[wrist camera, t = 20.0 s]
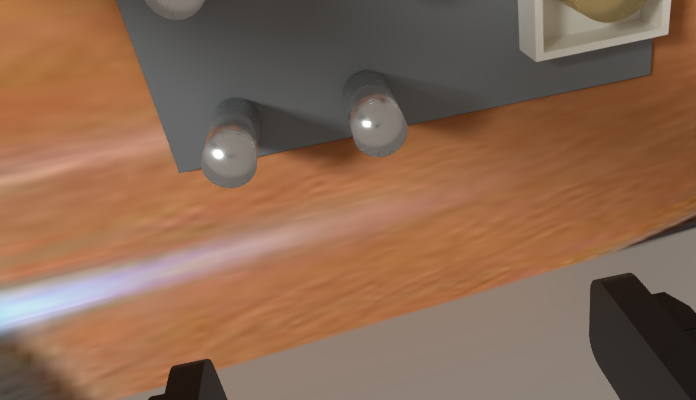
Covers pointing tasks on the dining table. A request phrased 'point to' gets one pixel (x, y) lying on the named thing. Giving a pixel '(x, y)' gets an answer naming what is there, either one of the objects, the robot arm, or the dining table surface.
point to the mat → (346, 64)
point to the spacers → (244, 119)
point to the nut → (605, 8)
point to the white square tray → (583, 28)
